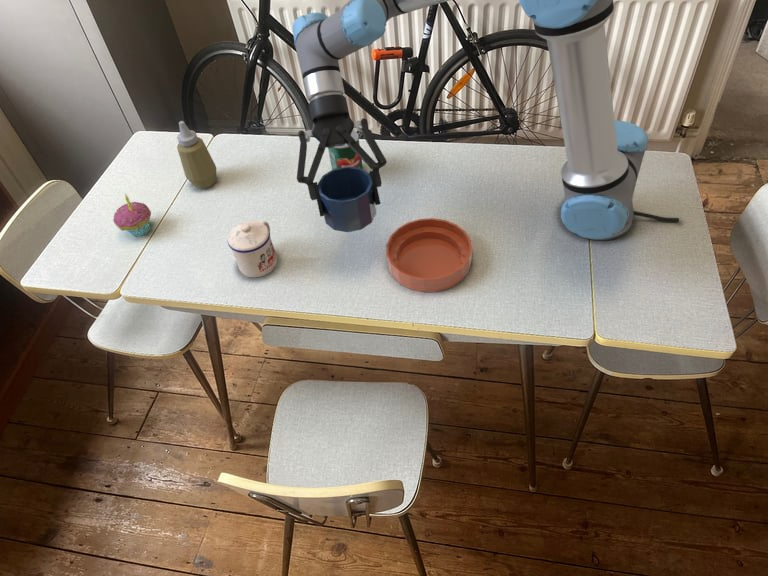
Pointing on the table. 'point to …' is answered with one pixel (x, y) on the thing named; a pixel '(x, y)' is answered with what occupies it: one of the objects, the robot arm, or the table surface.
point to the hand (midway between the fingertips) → (350, 209)
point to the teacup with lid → (253, 248)
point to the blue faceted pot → (347, 198)
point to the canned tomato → (345, 155)
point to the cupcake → (133, 218)
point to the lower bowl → (429, 255)
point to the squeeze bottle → (195, 158)
